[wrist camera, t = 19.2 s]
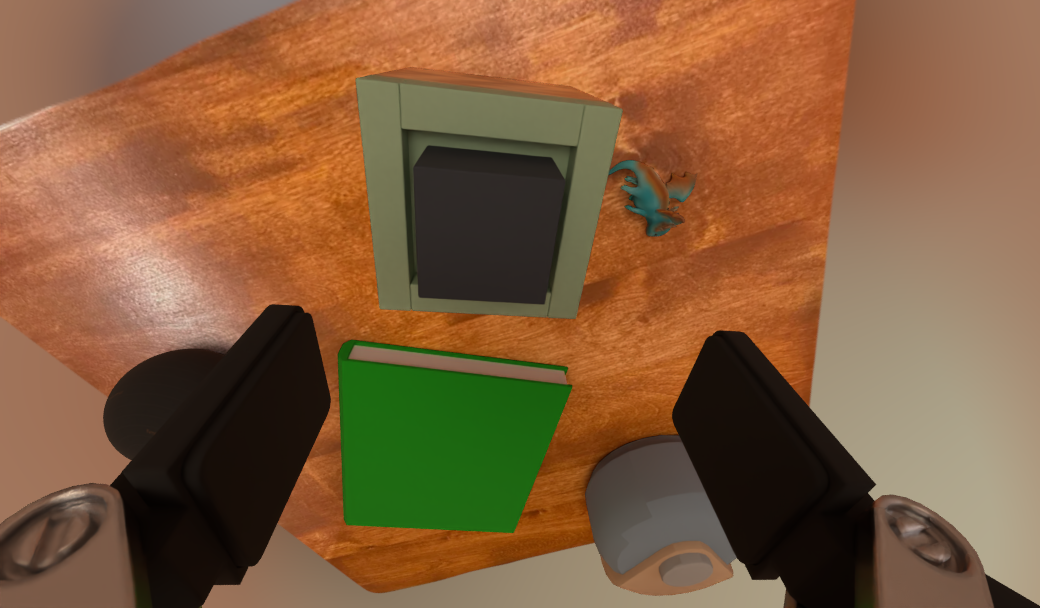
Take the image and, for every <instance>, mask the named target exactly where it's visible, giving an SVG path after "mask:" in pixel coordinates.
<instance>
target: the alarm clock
mask: <svg viewBox="0 0 1040 608" xmlns="http://www.w3.org/2000/svg"><path fill="white" fill-rule="evenodd" d="M585 498H586V505H587V509H588V514H589V519H590V523H591V528H592V533H593V537H594V541H595V544H596V546H597V549H598V551H599V554H600V556H601V560H602V564H603V567H604V570H605V572H606V575H607V576H608V578H609V579H610V581H611V582H612V583H613V584H614V585H616V586H618V587H620V588H623V589H626V590H630V591H633V592H636V593H639V594H645V595H655V596H657V595H675V594H682V593H688V592H692V591H696V590H700V589H703V588H706V587H709V586H711V585H714V584H716V583H719V582H721V581H724V580H726V579H729V578H731V577H733V569H732V567H731V564H730V563H731V562H732V561H733V560H734V559H736V558H737V557H736V556H735V554H734V552H733V550H732V548H731V545H730V543H729V541H728V539H727V537H726V535H725V533H724V530H723V528H722V526H721V524H720V522H719V520H718V518H717V515H716V513H715V511H714V509H713V507H712V505H711V503H710V501H709V498H708V496H707V494H706V492H705V490H704V488H703V486H702V483H701V481H700V479H699V477H698V475H697V473H696V471H695V468H694V466H693V464H692V462H691V460H690V458H689V456H688V453H687V451H686V449H685V447H684V445H683V443H682V441H681V438H680V436H677V435H661V436H655V437H648V438H643V439H640V440H637V441H634V442H631V443H628V444H626V445H624V446H622V447H620V448H618V449H616V450H614V451H612V452H611V453H610V454H609V455H607V456H606V457H605V458H604V459H602V460H601V461H600V462H599V464H598V465H597V466H596V468H595V469H594V470H593V472H592V476H591V479H590V482H589V483H588V486H587V489H586V493H585Z"/></svg>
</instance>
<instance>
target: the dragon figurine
mask: <svg viewBox="0 0 1040 608" xmlns="http://www.w3.org/2000/svg"><path fill="white" fill-rule="evenodd" d="M620 169H630V170H632V171H633V172H634V173H635V175H636V177H637V178H633V177H630V176H627V178H625V180H626V181H627V182H632V183H633V184H635V185H637V187H629V186H627V185H624V186H621V187H622V188H621V189H622V190H625V191H626V192H628V193H629V194H632V195H631V196H630V198H629V200H631V201H633V202H634V205H635V207H636V208H633V207H632V206H629V205H626V206H624V207H625V208H626V209H628V210H630V211H632V212H634V213H636V214H640V215H642V216H644V217H645V218H646V220H647V227H646V234H647V235H648V236H661V235H664V234H665V233H667V232H668V231H669V230H670V229H671V228H672V227H676V225H679V224H681V223H684V222H685V219H684V218H683V217H682V216H681V215H679V213H674V211H676V210H675V209H677V208H678V207H673V208H671V209H670V210H668V209H669V208H668V206H669V204H670V201H669V198H676V199H677V200H679V201H680V202H684V201H685V200H686V199H687V197H688V196H689V195H690V193H691V192H692V190H693V188H694V185H695V182H696V178H697V174H690V173H688V172H685V176H684V177H683V178H681V177H678V176H676V175H675V174H673V173H672V180H671V181H670V182H669V183H666V185H665V184H664V183H663V181H662V180H661V178H660V177H659V175H658V174H657V173H656V172H655V170H654V168H653V167H651V166H648V165H646V164H645V163H642V162H638V161H634V160H626V161H622V162H620V163H618V164H617V165H616V166H614V167H613V168H612V169H611V170H609V174H608V175H610V174H612V173H614V172H616V171H618V170H620ZM673 223H674V224H673Z"/></svg>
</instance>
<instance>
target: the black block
mask: <svg viewBox="0 0 1040 608" xmlns="http://www.w3.org/2000/svg"><path fill="white" fill-rule="evenodd" d="M413 178H414V203H415V228H416V253H417V278H418V296H419V298H433V299H451V300H469V301H488V302H506V303H524V304H542V305H543V304H545V301H546V295H547V289H548V283H549V277H550V271H551V265H552V259H553V253H554V248H555V242H556V236H557V230H558V224H559V218H560V212H561V206H562V200H563V194H564V188H565V183H566V181H565V179H564V177H563V175H562V174H561V172H560V170H559V169H558V167H557V165H556V163H555V162H554V160H553V158H551V157H542V156H532V155H522V154H512V153H502V152H492V151H482V150H471V149H461V148H451V147H441V146H431V145H428V146H427V147H426V148H425V150H424V151H423V153H422V154H421V156H420V157H419V159H418V160H417V162H416V163H415V165H414V167H413Z"/></svg>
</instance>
